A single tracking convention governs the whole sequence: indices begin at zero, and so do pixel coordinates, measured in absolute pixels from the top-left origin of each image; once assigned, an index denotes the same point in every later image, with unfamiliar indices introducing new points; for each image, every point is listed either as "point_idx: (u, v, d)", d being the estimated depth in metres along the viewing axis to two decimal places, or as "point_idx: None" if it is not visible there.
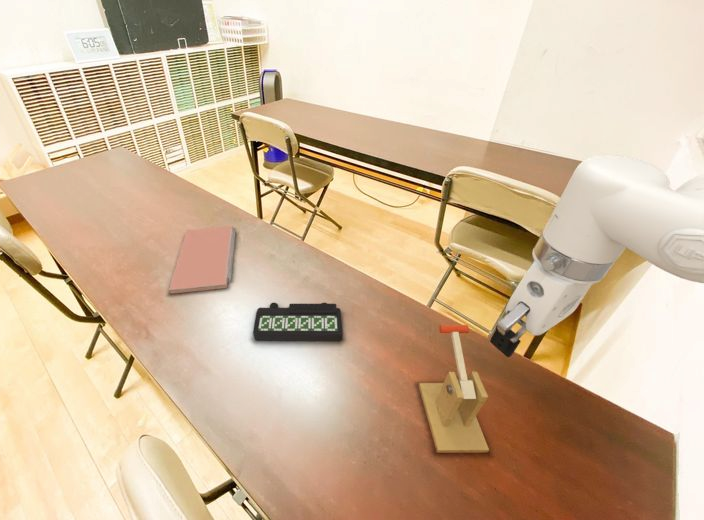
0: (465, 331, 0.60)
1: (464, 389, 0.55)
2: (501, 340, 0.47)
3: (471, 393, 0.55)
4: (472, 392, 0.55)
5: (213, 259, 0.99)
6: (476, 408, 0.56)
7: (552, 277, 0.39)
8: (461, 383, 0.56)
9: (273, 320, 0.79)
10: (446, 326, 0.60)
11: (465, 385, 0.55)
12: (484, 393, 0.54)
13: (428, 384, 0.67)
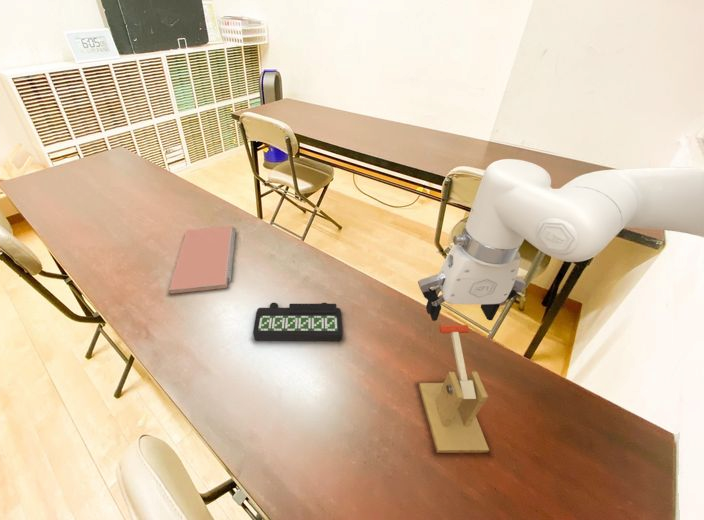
0: (465, 331, 0.60)
1: (464, 389, 0.55)
2: (429, 303, 0.56)
3: (471, 393, 0.55)
4: (472, 392, 0.55)
5: (213, 259, 0.99)
6: (476, 408, 0.56)
7: (460, 252, 0.48)
8: (461, 383, 0.56)
9: (273, 320, 0.79)
10: (446, 326, 0.60)
11: (465, 385, 0.55)
12: (484, 393, 0.54)
13: (428, 384, 0.67)
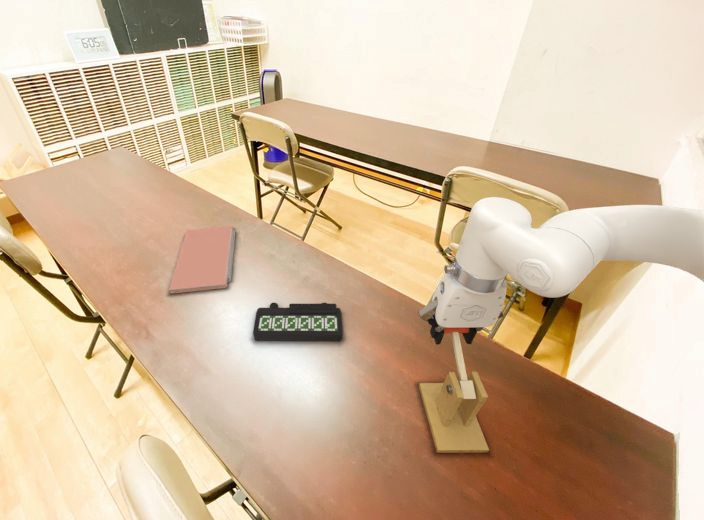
0: (465, 331, 0.60)
1: (464, 389, 0.55)
2: (433, 328, 0.60)
3: (471, 393, 0.55)
4: (472, 392, 0.55)
5: (213, 259, 0.99)
6: (476, 408, 0.56)
7: (451, 280, 0.51)
8: (461, 383, 0.56)
9: (273, 320, 0.79)
10: None
11: (465, 385, 0.55)
12: (484, 393, 0.54)
13: (428, 384, 0.67)
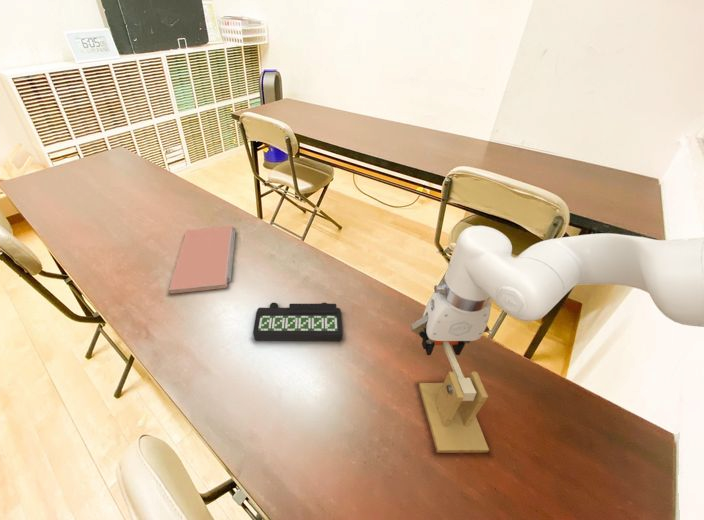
0: (455, 341, 0.64)
1: (463, 385, 0.56)
2: (424, 340, 0.65)
3: (470, 388, 0.55)
4: (471, 387, 0.55)
5: (213, 259, 0.99)
6: (476, 408, 0.56)
7: (440, 299, 0.56)
8: (459, 380, 0.57)
9: (273, 320, 0.79)
10: None
11: (463, 381, 0.56)
12: (484, 393, 0.54)
13: (428, 384, 0.67)
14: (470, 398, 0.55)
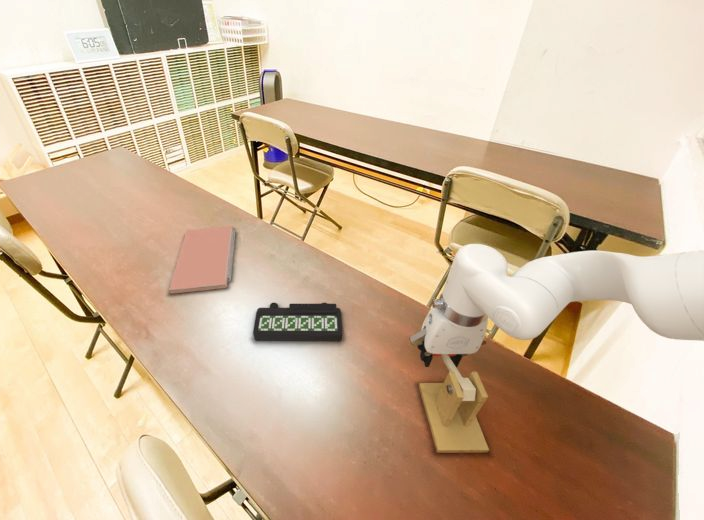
0: None
1: (462, 383, 0.56)
2: (422, 352, 0.67)
3: (469, 385, 0.55)
4: (470, 385, 0.56)
5: (213, 259, 0.99)
6: (476, 408, 0.56)
7: (438, 314, 0.57)
8: (457, 379, 0.57)
9: (273, 320, 0.79)
10: None
11: (462, 380, 0.57)
12: (484, 393, 0.54)
13: (428, 384, 0.67)
14: (471, 397, 0.55)
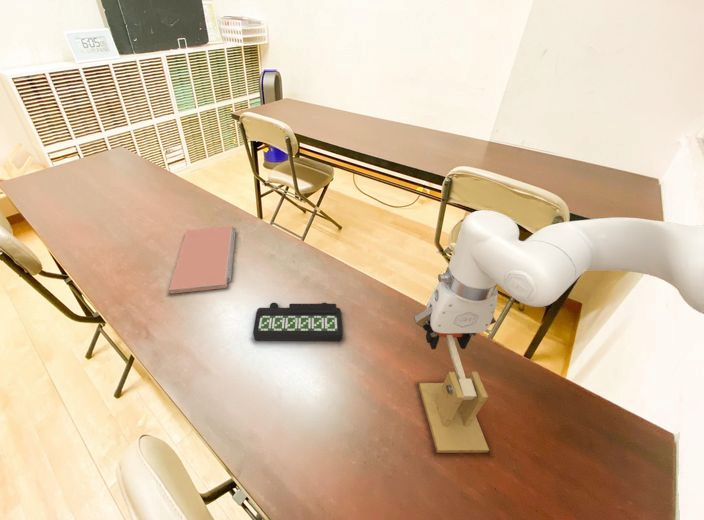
0: (459, 334, 0.62)
1: (464, 387, 0.55)
2: (428, 334, 0.63)
3: (471, 390, 0.55)
4: (472, 389, 0.55)
5: (213, 259, 0.99)
6: (476, 408, 0.56)
7: (444, 288, 0.54)
8: (460, 381, 0.56)
9: (273, 320, 0.79)
10: None
11: (464, 383, 0.56)
12: (484, 393, 0.54)
13: (428, 384, 0.67)
14: (469, 398, 0.56)
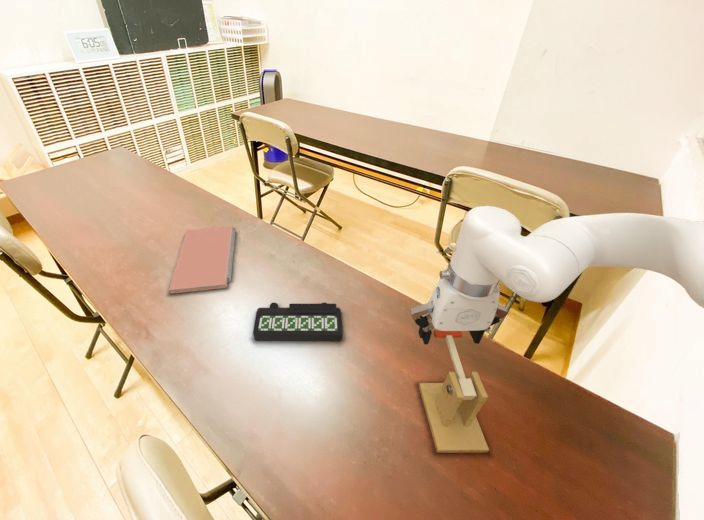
0: (458, 335, 0.62)
1: (464, 387, 0.55)
2: (421, 328, 0.62)
3: (471, 390, 0.55)
4: (472, 389, 0.55)
5: (213, 259, 0.99)
6: (476, 408, 0.56)
7: (446, 285, 0.54)
8: (460, 381, 0.56)
9: (273, 320, 0.79)
10: (439, 330, 0.63)
11: (464, 382, 0.56)
12: (484, 393, 0.54)
13: (428, 384, 0.67)
14: (469, 398, 0.56)
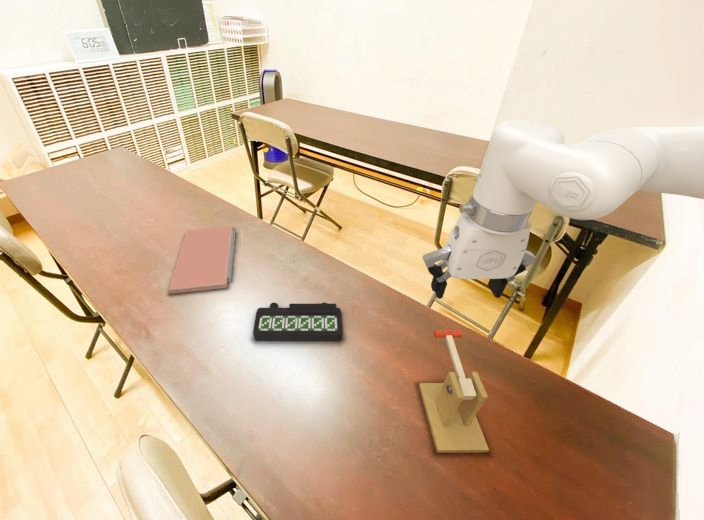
0: (458, 335, 0.62)
1: (464, 387, 0.55)
2: (434, 280, 0.54)
3: (471, 390, 0.55)
4: (472, 389, 0.55)
5: (213, 259, 0.99)
6: (476, 408, 0.56)
7: (467, 222, 0.46)
8: (460, 381, 0.56)
9: (273, 320, 0.79)
10: (439, 330, 0.63)
11: (464, 382, 0.56)
12: (484, 393, 0.54)
13: (428, 384, 0.67)
14: (469, 398, 0.56)
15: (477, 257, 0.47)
